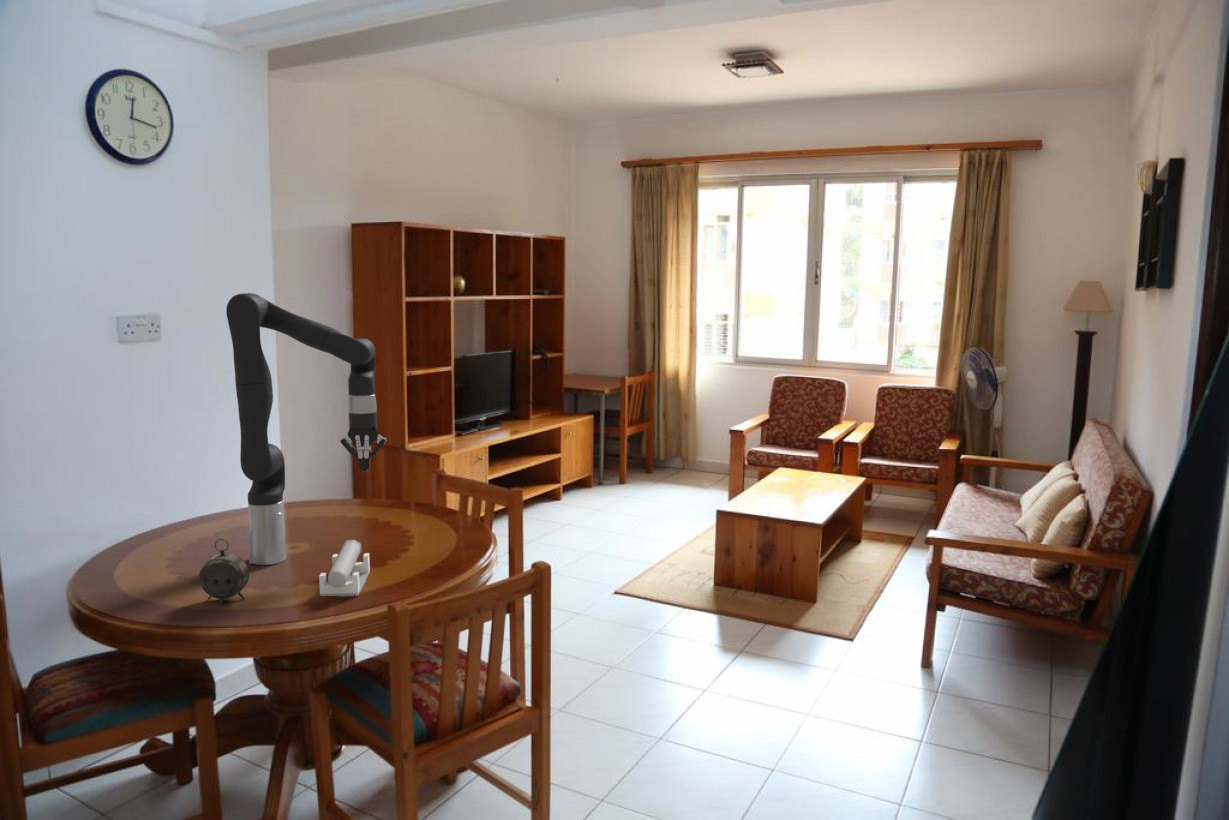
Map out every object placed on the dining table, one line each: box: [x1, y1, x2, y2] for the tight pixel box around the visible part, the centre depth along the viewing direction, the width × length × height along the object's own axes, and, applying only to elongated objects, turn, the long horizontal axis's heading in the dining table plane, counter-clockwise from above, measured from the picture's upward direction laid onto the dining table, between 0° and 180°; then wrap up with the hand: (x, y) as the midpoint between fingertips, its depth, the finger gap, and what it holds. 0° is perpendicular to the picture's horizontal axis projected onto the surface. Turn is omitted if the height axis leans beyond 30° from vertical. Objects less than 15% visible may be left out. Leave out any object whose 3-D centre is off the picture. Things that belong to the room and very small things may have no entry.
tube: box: [327, 539, 362, 588], centre depth 228 cm, size 5×5×25 cm
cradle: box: [318, 552, 371, 597], centre depth 228 cm, size 9×17×6 cm, turn 6°
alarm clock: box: [198, 538, 250, 605], centre depth 215 cm, size 11×5×16 cm, turn 92°
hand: (364, 470), depth 245 cm, fingers closed
